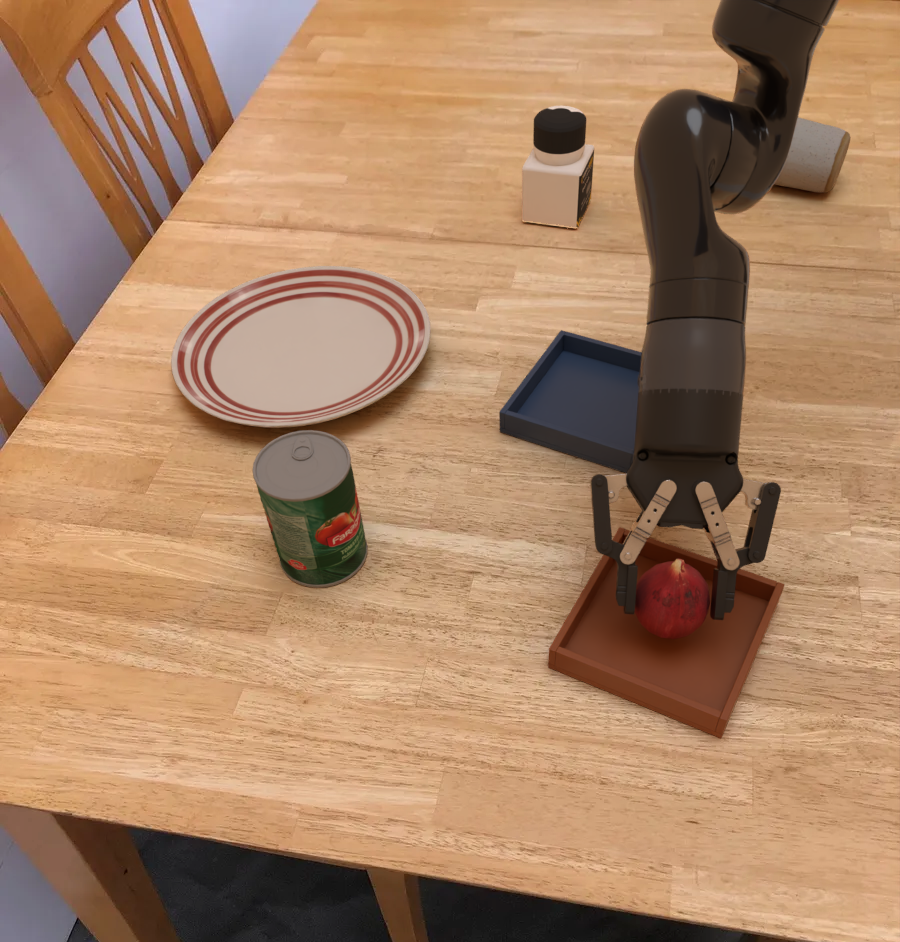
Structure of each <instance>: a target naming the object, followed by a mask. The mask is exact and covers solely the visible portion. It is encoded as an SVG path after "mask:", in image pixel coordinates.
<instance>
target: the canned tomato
mask: <svg viewBox="0 0 900 942" xmlns="http://www.w3.org/2000/svg"><path fill="white" fill-rule="evenodd" d="M352 466H353V465H352V458H351V453H350V450H349V448H348V447H347V445H346V444H345V443H344V442H343V441H342V440H341V439H340V438H338V437H337V436H336V435H333V434H331V433H329V432H327V431H326V432H325V431H321V430H315V429H314V430H312V429H308V430H307V429H305V430H297V431H292V432H288V433H285V434H283V435H280V436H278V437H276V438H274V439H272V440H271V441H270V442H268V443H266V445H265V446H263V448H261V449H260V450H259V452H258V453H257V455H256V456H255V459H254V461H253V464H252V477H253V478H252V479H253V480H254V482H255V484H256V488H257V493H258V495H259V497H260V502H261V504H262V508H263V511H264V515H265V517H266V521H267V523H268V528H269V531H270V535H271V537H272V540H273V544H274V548H275V550H276V553H277V556H278V559H279V565H280V568H281V569H282V571H283V574H285V576H286V577H287V578H288V579H290V580H291V581H292V582H294V583H296V584H298V585H300V586H304V587H308V588H316V589H319V588H320V589H321V588H328V587H333V586H337V585H339V584H342V583H344V582H346V581H348V580H349V579H351V578H352V577H353V576H355V575H357V573H358V572H359V571H360V570H361V568H363V566H364V564H365V562H366V561H367V560H366V559H367V556H368V548H369V547H368V542H367V539H366V532H365V527H364V523H363V517H362V512H361V506H360V501H359V496H358V492H357V486H356V480H355V476H354V470H353V467H352Z"/></svg>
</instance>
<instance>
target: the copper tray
mask: <svg viewBox="0 0 900 942" xmlns="http://www.w3.org/2000/svg"><path fill="white" fill-rule="evenodd" d="M630 530H631V529H626V528H625V527H620V526H619V527H618V529H617V531H616V532H615V534H614V536H612V540H613V541H616V542H618V543H620V544H623V543H624V541H625V539H626V537H627V536H628V534H629V532H630ZM676 559H682V560H684V562H685V563H686V564H689V565H690V566H692V567H693V568H694V569H696V570H697V571H698V572H699V573H700V574H701V575H702V577H703V578H704V580H705V581H706V583H707V585H708V589H709V596H710V606H709V610H708V613H707V616H706V619H705V621H704V622H703V624H702V625H701V626H700V627H699V628H698V629H697V630H695V631H694V632H693V633H692V634H690V635H688V636H686V637H682V638H678V639H668V638H661V637H658V636H656V635H654V634H652V633H650V632H649V631H648V630H646V629H645V628H644V627H643V626H642V625H641V623H640V622H639V620H638V618H637V616H636V614H635V612H634V615H633V614H625V613H624V606H619V605H618V603H617V600H616V597H615V596H616V582H617V568H618V565H617V562H616V560H614V559H613V558H611V557H608V556H606V555H604V554H602V556H601V558H600V560H599V562H598V563H597V565H596V566H595V568H594V570H593V572H592V574H591V575H590V577H589V579H588V580H587V582H586V584H585V586H583V589H582V591H581V593H580V594H579V596H578V598H577V600H576V601H575V603H574V605H573V606H572V608H571V609H570V611H569V613H568V615H567V617H566V619H564V622H563V624H562V625H561V627H560V628H559V631H558V632H557V634H556V636H555V638H554V639H553V641H552V642H551V645H550V646H549V648H548V657H547V658H548V659H547V662H548V663H547V668H549V669H552V670H554V671H556V672H558V673H561V674H564V675H566V676H568V677H571V678H573V679H576V680H578V681H580V682H583V683H585V684H588V685H590V686H592V687H595V688H597V689H600V690H602V691H605V692H607V693H610V694H612V695H615V696H617V697H619V698H622V699H624V700H626V701H629V702H632V703H634V704H637V705H639V706H642V707H643V708H646V709H647V710H648V709H649V710H650V711H654V712H656V713H659V714H661V715H663V716H665V717H668V718H670V719H672V720H675V721H678V722H680V723H683V724H685V725H687V726H689V727H692V728H694V729H697V730H700V731H702V732H703V733H706V734H709V735H711V736H714V737H717V738H719V739H722V738H723V735H724V733H725V731H726V728H727V726H728V723H729V721H730V719H731V716H732V714H733V711H734V709H735V707H736V705H737V703H738V700H739V697H740V695H741V692H742V690H743V688H744V686H745V683H746V681H747V679H748V676H749V673H750V671H751V668H752V666H753V665H754V661H755V659H756V657H757V655H758V652H759V650H760V647H761V645H762V643H763V640H764V637H765V635H766V633H767V630H768V629H769V626H770V624H771V621H772V619H773V616H774V614H775V612H776V609H777V607H778V605H779V602H780V599H781V596H782V594H783V591H784V588H785V583H782V582H780V581H777V580H774V579H772V578H768V577H766V576H762V575H759V574H756V573H753V572H750V571H748V570H745V569H743V568H740V569H739V570H738V572H737V575H736V586H735V598H734V607H733V609H732V611H731V613H724V619H723V620H713V619H712V618H711V617H710V608H711V596H712V584H713V572H714V569H717V564H718V561H717V559H713V558H710V557H708V556H704V555H702V554H699V553H696V552H693V551H690V550H687V549H684V548H681V547H679V546H676V545H672V544H670V543H667V542H664V541H661V540H658V539H656V538H652V537H651V536H650V537H649V538H648V539H647V541H646V542H645V544H644V546H643V548H642V549H641V551H640V553H639V555H638V556H637V558H636V560H635V564H636V565H637V566H638V572H637V583H638V581H639V579H640V578H641V576H642V575H643V574H644V573H645V572H647V571H648V570H649V569H651V568H652V567H654V566H655V565H657V564H661V563H664V562H669V561H675V560H676Z"/></svg>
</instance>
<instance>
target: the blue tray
mask: <svg viewBox="0 0 900 942" xmlns="http://www.w3.org/2000/svg"><path fill="white" fill-rule="evenodd" d="M641 353H642V351H639V350H635V349H631V348H628V347H624V346H620V345H617V344H614V343H610V342H606V341H602V340H599V339H595V338H591V337H589V336H585V335H581V334H577V333H574V332H569V331H566V330H562V329H561V330H560V331H559V332H558V333H557V334H556V336H555V337H554V339H553V340H552V341H551V343H550V344H549V345H548V346H547V348H546V349H545V351H544V352H543V353H542V354H541V356H540V357H539V359H538V360H537V361H536V363H535V364H534V365H533V366H532V368H531V370H529V372H528V373H527V375H525V377H524V378H523V379H522V381H521V382H520V384H519V385H518V387H517V388H516V389H515V390H514V392H513V393H512V394H511V396H510V397H509V398H508V400H507V401H506V402H505V403H504V404H503V407H502V408H501V409H500V410H499V412H498V413H499V418H498V419H499V420H498V421H499V433H502V434H504V435H508V436H511V437H513V438H517V439H520V440H522V441H526V442H529V443H532V444H535V445H539V446H542V447H545V448H547V449H551V450H554V451H557V452H560V453H562V454H563V453H564V454H566V455H569V456H572V457H575V458H578V459H581V460H585V461H588V462H590V463H594V464H598V465H600V466H603V467H606V468H609V469H612V470H614V471H615V470H616V471H619V472H621V473H624V474H626V472H627V471H628V469H629V468H630V466H631V464H632V461H633V457H634V445H635V431H636V417H637V402H638V376H639V373H640V361H641Z"/></svg>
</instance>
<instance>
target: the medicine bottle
mask: <svg viewBox="0 0 900 942" xmlns="http://www.w3.org/2000/svg"><path fill="white" fill-rule="evenodd" d="M586 133H587V116H586V115H585V114H584V112H583V111H582V110H581V109H579V108H577V107H573V106H570V105H552V106H549V107H546V108H543V109H542V110H540V111H539V112H537V114H536V115H535V116H534V118H533V136H532V137H533V139H532V140H533V142H532V143H533V145H532V149H531V151H530V153H529V155H528V156H527V158H526V160H525V162H524V163H523V165H522V168H521V221H522V220H524V221H533V222H541V223H546V224H547V223H548V224H556V225H558V224H559V225H564V226H569V227H571V226H572V227H578V226H579V227H580V225H579V224H581V223H580V221H581V222H582V220H583V218H584V216H585V214H584V213H586V212H587V209H588V207H589V205H590V203H591V201H590V199H591V200H592V189H593V175H594V174H593V173H594V162H595V161H594V159H595V145H593V144H588V143H587V144H586V135H587V134H586ZM589 202H590V203H589ZM588 204H589V205H588ZM586 208H587V209H586ZM585 211H586V212H585ZM583 215H584V216H583ZM582 217H583V218H582ZM581 219H582V220H581ZM579 227H578V228H579Z"/></svg>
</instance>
